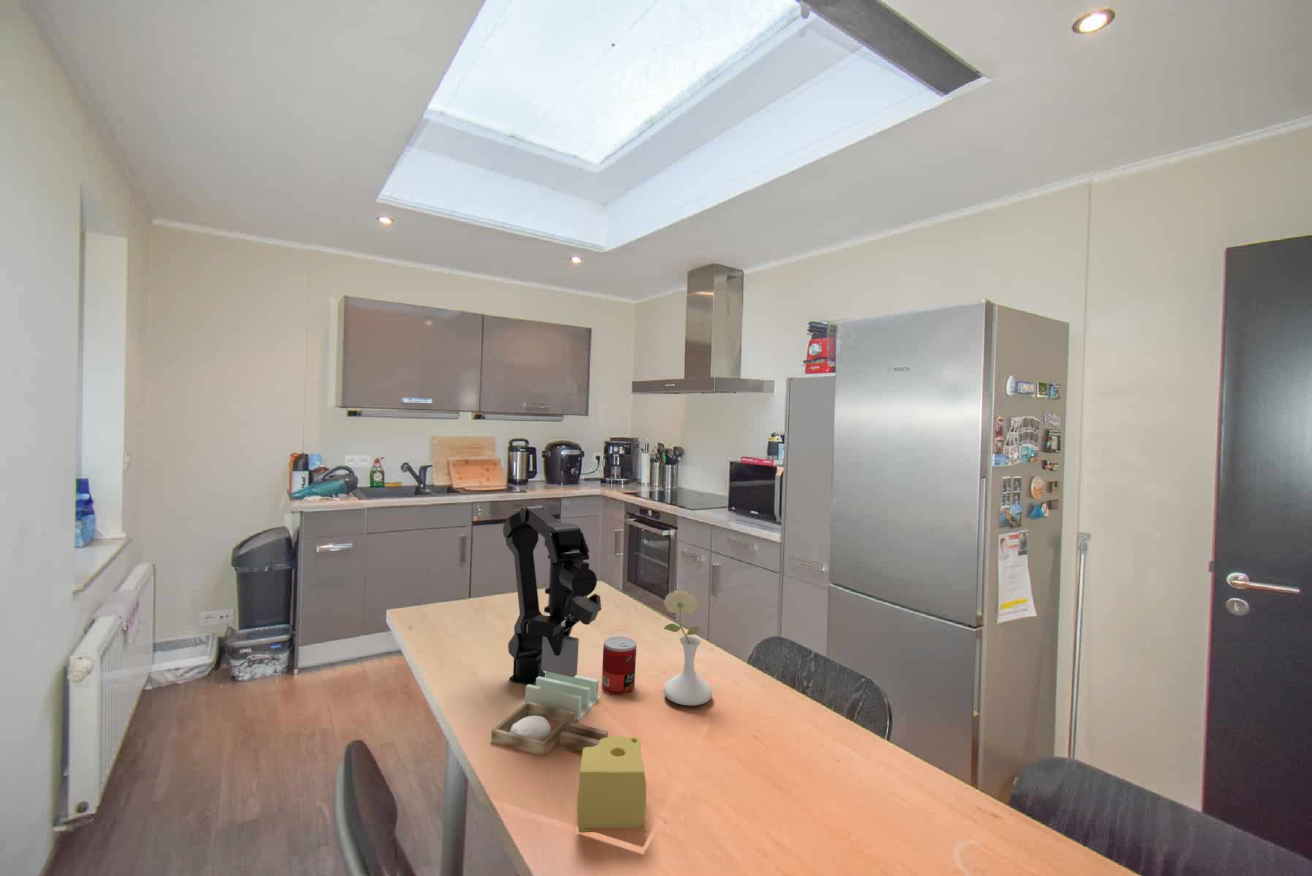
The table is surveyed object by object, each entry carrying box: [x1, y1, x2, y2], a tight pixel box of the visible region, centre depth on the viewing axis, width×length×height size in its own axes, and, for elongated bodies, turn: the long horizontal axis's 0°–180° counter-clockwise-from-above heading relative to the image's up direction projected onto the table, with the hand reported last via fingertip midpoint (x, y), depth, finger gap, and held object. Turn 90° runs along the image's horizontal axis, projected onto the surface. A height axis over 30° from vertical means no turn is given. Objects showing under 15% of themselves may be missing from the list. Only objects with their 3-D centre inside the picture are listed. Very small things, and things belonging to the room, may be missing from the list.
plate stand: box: [558, 722, 609, 756], centre depth 111 cm, size 8×6×3 cm
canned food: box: [601, 635, 637, 695], centre depth 136 cm, size 8×8×11 cm
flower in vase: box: [662, 590, 713, 707], centre depth 133 cm, size 13×11×25 cm
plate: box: [541, 635, 580, 677], centre depth 125 cm, size 8×2×8 cm, turn 70°
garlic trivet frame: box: [490, 701, 576, 757], centre depth 114 cm, size 12×13×3 cm
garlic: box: [509, 715, 552, 741], centre depth 114 cm, size 8×7×4 cm
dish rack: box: [520, 671, 602, 721], centre depth 127 cm, size 14×11×5 cm
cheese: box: [576, 736, 647, 833], centre depth 93 cm, size 10×11×10 cm
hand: (559, 653), depth 125 cm, fingers closed on plate, 2 cm apart
